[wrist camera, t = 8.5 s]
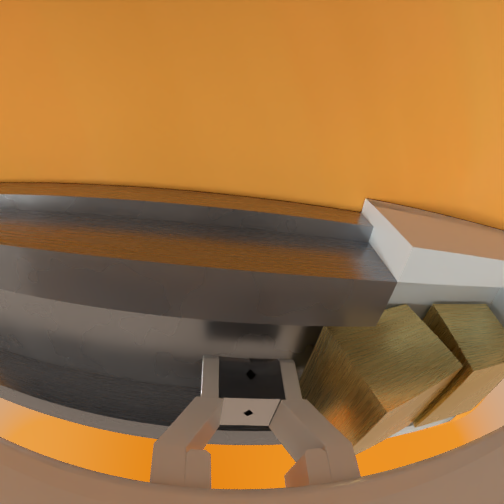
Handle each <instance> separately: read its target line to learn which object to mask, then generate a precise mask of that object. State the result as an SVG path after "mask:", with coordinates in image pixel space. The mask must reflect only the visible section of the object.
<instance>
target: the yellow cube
mask: <svg viewBox="0 0 504 504" xmlns="http://www.w3.org/2000/svg"><path fill="white" fill-rule="evenodd" d="M422 321H423V322H424V323H425V324H426V325H427V326H428V327H429V328H430V329H431V330H432V331H433V333H434V334H435V335H436V336H437V337H438V338H439V339H440V340H441V341H442V342H443V343H444V345H445V346H446V347H447V348H448V349H449V350H450V351H451V352H452V354H453V355H454V356H455V357H456V358H457V359H458V360H459V361H460V363H461V364H462V365H463V367H462V368H461V370H460V371H459V372H458V373H457V375H456V376H455V377H454V378H453V379H452V380H451V382H450V383H449V384H448V385H447V386H446V387H445V388H444V390H443V391H442V392H441V393H440V394H439V395H438V396H437V397H436V398H435V399H434V400H433V401H432V403H431V404H430V405H429V406H428V407H427V408H426V409H425V410H424V411H423V412H422V413H421V414H420V415H419V416H418V417H417V418H416V419H415V420H414V421H413V424H414V427H415V428H416V427H420V426H423V425H427V424H430V423H433V422H437V421H440V420H443V419H446V418H449V417H452V416H455V415H458V414H461V413H464V412H467V411H469V410H471V409H473V408H474V407H475V406H476V405H477V404H478V403H479V402H480V401H481V400H482V399H483V398H484V397H485V396H486V395H488V394H489V393H490V392H491V391H492V390H493V388H495V387H496V385H498V383H499V382H500V381H501V380H502V379H503V378H504V328H503V326H502V325H501V323H500V322H499V321H498V319H497V318H496V317H495V315H494V314H493V312H492V311H491V310H490V308H489V307H488V306H487V304H432V306H431V308H430V309H429V311H428V312H427V314H426V316H425V317H424V319H423V320H422Z"/></svg>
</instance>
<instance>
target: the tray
mask: <svg viewBox="0 0 504 504" xmlns="http://www.w3.org/2000/svg"><path fill="white" fill-rule="evenodd" d="M361 213H362V214H363V215H364V216H365V218H366V219H367V220H368V221H369V222H370V223H371V224H372V226H373V227H374V228H373V231H372V233H371V236H370V239H369V243H370V245H371V246H372V247H373V249H374V250H375V251H376V253H377V254H378V255H379V257H380V258H381V259H382V261H383V262H384V264H385V265H386V266H387V268H388V269H389V271H390V272H391V273H392V275H393V276H394V278H395V279H396V280H397V284H396V287H395V289H394V291H393V293H392V295H391V297H390V299H389V301H388V303H387V305H386V307H385V309H389V308H393V307H396V306H400V305H404V304H407V305H408V306H409V307H410V308H411V309H412V310H413V311H414V312H415V313H416V314H417V315H418V317H419V318H420V319H421V320H423V319H424V317H425V316H426V314H427V312H428V311H429V309H430V308H431V306H432V304H487V306H488V307H489V308H490V310H491V311H492V312H493V314H494V315H495V317H496V318H497V319H498V321H499V322H500V323H501V325H502V326H503V328H504V231H503V230H499V229H496V228H492V227H489V226H485V225H481V224H478V223H474V222H470V221H466V220H462V219H458V218H454V217H450V216H446V215H442V214H438V213H433V212H429V211H425V210H420V209H416V208H411V207H407V206H402V205H397V204H392V203H387V202H382V201H377V200H372V199H367V198H366V199H365V202H364V205H363V209H362V212H361ZM385 309H384V310H385ZM455 416H456V415H455ZM455 416H452V417H449V418H446V419H443V420H440V421H437V422H433V423H430V424H427V425H423V426H420V427H416V428H415V427H414V424H413V422H412V423H411V424H409V425H408V426H407V427H405V428H404V429H402V430H400V431H399V432H397V433H395V434H393V435H392V436H390V437H393V436H398V435H402V434H406V433H410V432H414V431H418V430H421V429H425V428H429V427H432V426H435V425H439V424H442V423H445V422H448V421H450V420H451V419H453V418H454V417H455ZM388 438H389V437H388Z"/></svg>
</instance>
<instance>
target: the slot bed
mask: <svg viewBox="0 0 504 504" xmlns="http://www.w3.org/2000/svg"><path fill="white" fill-rule="evenodd" d="M373 228H374V227H373V226H372V224H371V223H370V222H369V221H368V220H367V219H366V218H365V216H364V215H363V214H362V213H360V212H354V211H347V210H341V209H335V208H328V207H321V206H314V205H307V204H300V203H293V202H285V201H277V200H269V199H261V198H252V197H244V196H235V195H225V194H216V193H205V192H195V191H183V190H171V189H158V188H144V187H129V186H112V185H91V184H62V183H0V397H1V398H3V399H6V400H8V401H11V402H13V403H16V404H18V405H21V406H24V407H26V408H29V409H32V410H35V411H38V412H41V413H44V414H47V415H50V416H54V417H57V418H60V419H64V420H68V421H71V422H75V423H78V424H82V425H87V426H90V427H94V428H99V429H103V430H108V431H113V432H118V433H123V434H129V435H135V436H141V437H148V438H154V439H159V437H160V436H161V435H162V434H163V433H164V432H165V431H166V430H167V429H168V428H169V426H170V425H171V424H172V423H173V422H174V421H175V420H176V419H177V417H178V416H179V415H180V414H181V413H182V412H183V411H184V410H185V408H186V407H187V406H188V405H189V404H190V403H191V402H192V400H193V399H194V398H195V397H196V396H199V397H200V394H201V377H202V362H203V355H211V356H222V357H233V358H245V359H248V358H256V359H285V360H293V361H294V362H295V366H296V371H297V376H298V380H299V379H300V377H301V375H302V373H303V371H304V369H305V367H306V364H307V362H308V360H309V358H310V356H311V353H312V351H313V349H314V347H315V344H316V342H317V340H318V338H319V335H320V333H321V331H322V328H323V326H337V327H376V325H377V323H378V321H379V319H380V317H381V315H382V313H383V311H384V309H385V307H386V305H387V303H388V301H389V299H390V297H391V295H392V293H393V291H394V289H395V287H396V284H397V280H396V279H395V278H394V276H393V275H392V273H391V272H390V271H389V269H388V268H387V266H386V265H385V264H384V262H383V261H382V259H381V258H380V257H379V255H378V254H377V253H376V251H375V250H374V249H373V247H372V246H371V245H370V243H369V239H370V236H371V233H372V231H373ZM207 444H224V445H274V444H281V442H280V441H279V440H278V439H277V437H276V436H275V435H274V433H273V432H272V431H271V429H270V428H269V426H254V425H219V427H218V429H217V430H216V432H215V433H214V434H213V436H212V437H211V439H210V440H209V442H208V443H207Z"/></svg>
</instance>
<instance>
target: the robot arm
mask: <svg viewBox="0 0 504 504" xmlns="http://www.w3.org/2000/svg"><path fill="white" fill-rule="evenodd" d="M219 425H254V426H269V428H270V429H271V431H272V432H273V433H274V435H275V436H276V437H277V439H278V440H279V441H280V442H281V444H282V445H283V446H284V448H285V449H286V450H287V451H288V453H289V454H290V455H291V456H292V458H293V459H294V460H295V462H296V464H295V465H294V466H293V467H292V468H291V469H290V470H289V471H288V472H287V473H286V475H285V484H286V488H275V489H245V490H244V489H243V490H238V489H236V490H235V489H231V490H230V489H211V456H210V453H209V452H207V451H206V450H203V449H204V447H205V446H206V444H207V443H208V442H209V440H210V439H211V437H212V436H213V434H214V433H215V432H216V430H217V429H218V427H219ZM0 504H504V426H502V427H500V428H499V429H497V430H495V431H493V432H491V433H489V434H487V435H485V436H482V437H480V438H478V439H476V440H474V441H471V442H469V443H467V444H465V445H462V446H460V447H457V448H455V449H452V450H450V451H447V452H445V453H442V454H439V455H437V456H434V457H431V458H428V459H425V460H423V461H419V462H416V463H413V464H410V465H407V466H403V467H399V468H396V469H392V470H388V471H385V472H381V473H376V474H372V475H368V476H363V477H361V476H360V473H359V469H358V465H357V461H356V457H355V453H354V449H353V445H352V443H351V442H350V441H349V440H348V439H347V438H346V437H345V436H344V435H343V434H342V433H341V432H339V431H338V430H337V429H336V428H335V427H334V426H333V425H332V424H331V423H330V422H329V421H328V420H327V419H326V418H325V417H324V416H323V415H322V414H321V413H320V412H319V411H318V410H317V409H316V408H315V407H314V406H313V405H312V404H311V403H310V402H309V401H308V400H307V399H302V395H301V390H300V385H299V380H298V376H297V371H296V366H295V362H294V361H293V360H285V359H256V358H248V359H245V358H233V357H222V356H211V355H203V362H202V377H201V394H200V397H199V396H196V397H195V398H194V399H193V400H192V402H191V403H190V404H189V405H188V406H187V407H186V408H185V410H184V411H183V412H182V413H181V414H180V415H179V416H178V417H177V419H176V420H175V421H174V422H173V423H172V424H171V425H170V426H169V428H168V429H167V430H166V431H165V432H164V433H163V434H162V435H161V436H160V437H159V439H158V440H157V441H156V442H155V443H154V448H153V457H152V466H151V475H150V483H149V482H143V481H137V480H131V479H126V478H122V477H117V476H112V475H108V474H104V473H99V472H96V471H91V470H88V469H84V468H81V467H77V466H74V465H71V464H68V463H64V462H62V461H58V460H56V459H53V458H50V457H47V456H44V455H42V454H39V453H36V452H34V451H31V450H29V449H26V448H24V447H22V446H19V445H17V444H14V443H12V442H10V441H8V440H6V439H3V438H1V437H0Z"/></svg>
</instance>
